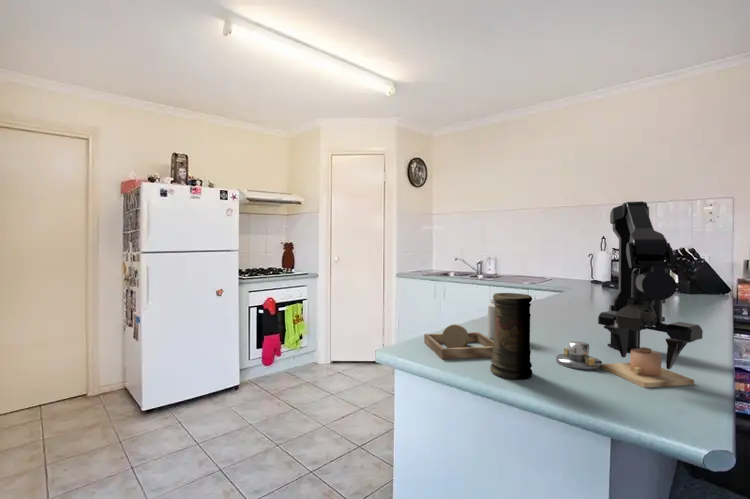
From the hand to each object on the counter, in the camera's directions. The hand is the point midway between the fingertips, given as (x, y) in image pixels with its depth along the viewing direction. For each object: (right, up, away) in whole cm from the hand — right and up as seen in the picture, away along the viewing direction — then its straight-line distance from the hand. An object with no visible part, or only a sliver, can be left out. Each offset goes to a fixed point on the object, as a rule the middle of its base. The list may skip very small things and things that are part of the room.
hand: (645, 362), depth 86 cm
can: (-22, -2, +32) cm, 39 cm away
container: (-30, -3, +2) cm, 30 cm away
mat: (0, -3, 0) cm, 3 cm away
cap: (0, -2, 0) cm, 2 cm away
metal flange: (-10, -3, +9) cm, 14 cm away
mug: (-37, -3, +23) cm, 44 cm away
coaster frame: (-36, -2, +21) cm, 42 cm away
